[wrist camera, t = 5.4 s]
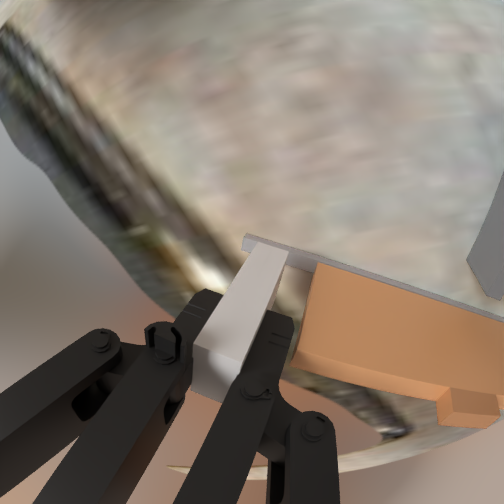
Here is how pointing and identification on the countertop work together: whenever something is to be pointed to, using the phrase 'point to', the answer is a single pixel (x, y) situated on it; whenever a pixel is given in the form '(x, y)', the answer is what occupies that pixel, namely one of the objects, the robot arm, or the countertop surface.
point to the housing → (480, 260)
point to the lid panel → (403, 346)
